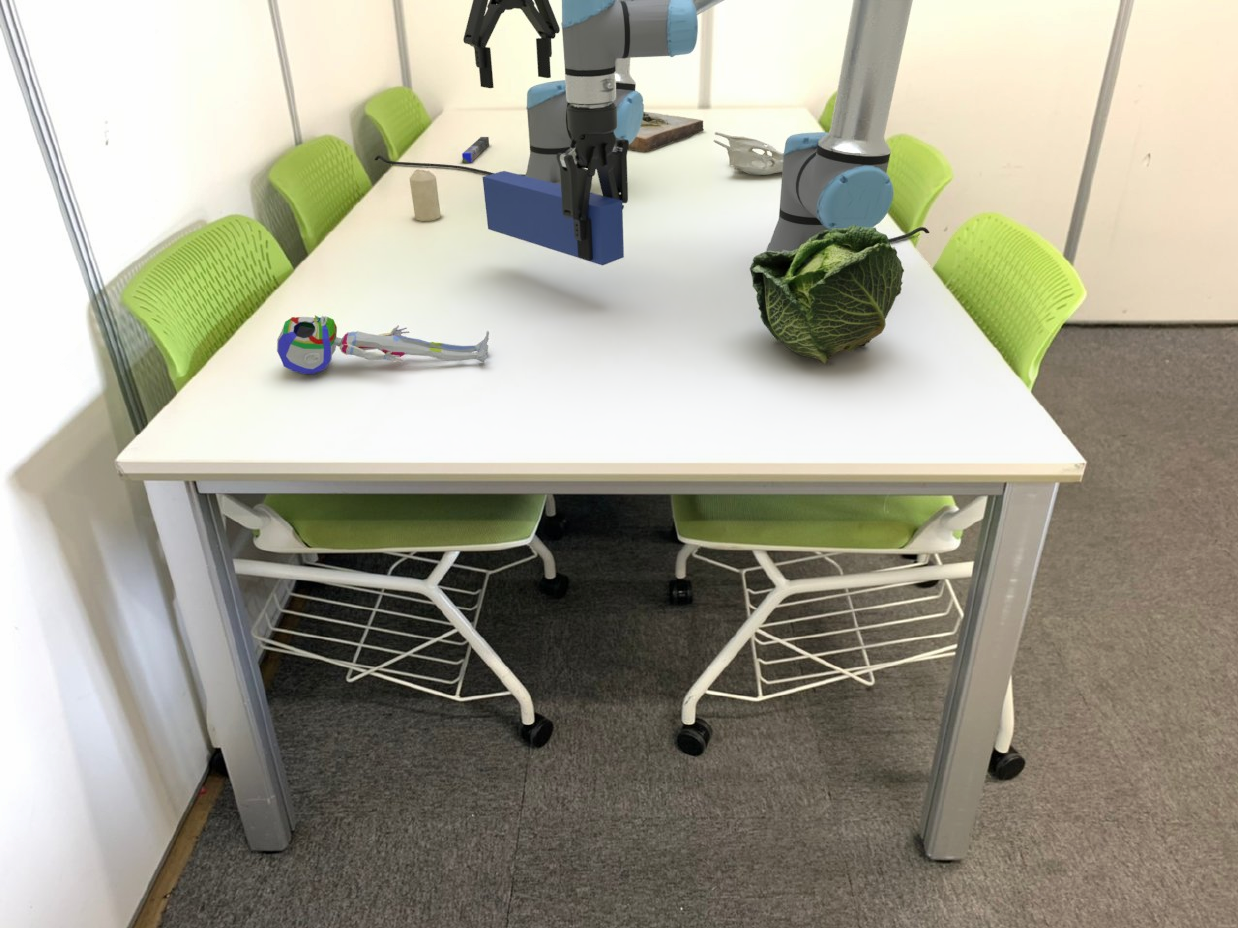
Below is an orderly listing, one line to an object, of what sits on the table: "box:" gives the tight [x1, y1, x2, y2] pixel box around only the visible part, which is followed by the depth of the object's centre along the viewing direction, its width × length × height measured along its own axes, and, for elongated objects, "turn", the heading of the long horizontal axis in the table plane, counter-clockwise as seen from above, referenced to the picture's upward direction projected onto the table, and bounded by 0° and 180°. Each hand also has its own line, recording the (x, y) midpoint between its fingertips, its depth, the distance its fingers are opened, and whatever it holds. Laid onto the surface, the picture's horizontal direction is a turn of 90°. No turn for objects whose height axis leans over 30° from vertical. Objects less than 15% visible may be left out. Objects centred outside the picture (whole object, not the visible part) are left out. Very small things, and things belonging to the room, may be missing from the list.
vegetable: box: [749, 225, 905, 365], centre depth 131 cm, size 20×19×20 cm
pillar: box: [461, 136, 490, 164], centre depth 243 cm, size 2×2×20 cm
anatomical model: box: [713, 131, 784, 176], centre depth 220 cm, size 15×9×25 cm
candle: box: [409, 169, 441, 222], centre depth 192 cm, size 6×6×10 cm
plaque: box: [628, 111, 705, 152], centre depth 257 cm, size 30×7×30 cm
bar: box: [482, 170, 625, 267], centre depth 151 cm, size 29×5×9 cm, turn 46°
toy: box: [276, 314, 490, 375], centre depth 132 cm, size 10×8×30 cm
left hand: (516, 82), depth 163 cm, fingers open, 13 cm apart
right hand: (597, 253), depth 147 cm, fingers closed on bar, 5 cm apart
